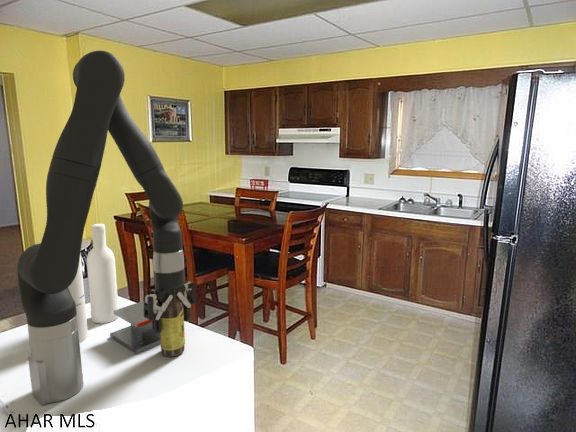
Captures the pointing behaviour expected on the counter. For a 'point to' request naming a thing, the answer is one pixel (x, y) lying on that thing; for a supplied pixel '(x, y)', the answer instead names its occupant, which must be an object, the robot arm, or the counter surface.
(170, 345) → the sauce bottle
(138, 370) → the counter surface
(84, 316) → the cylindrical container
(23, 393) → the counter surface
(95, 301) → the bottle
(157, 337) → the grey piece
